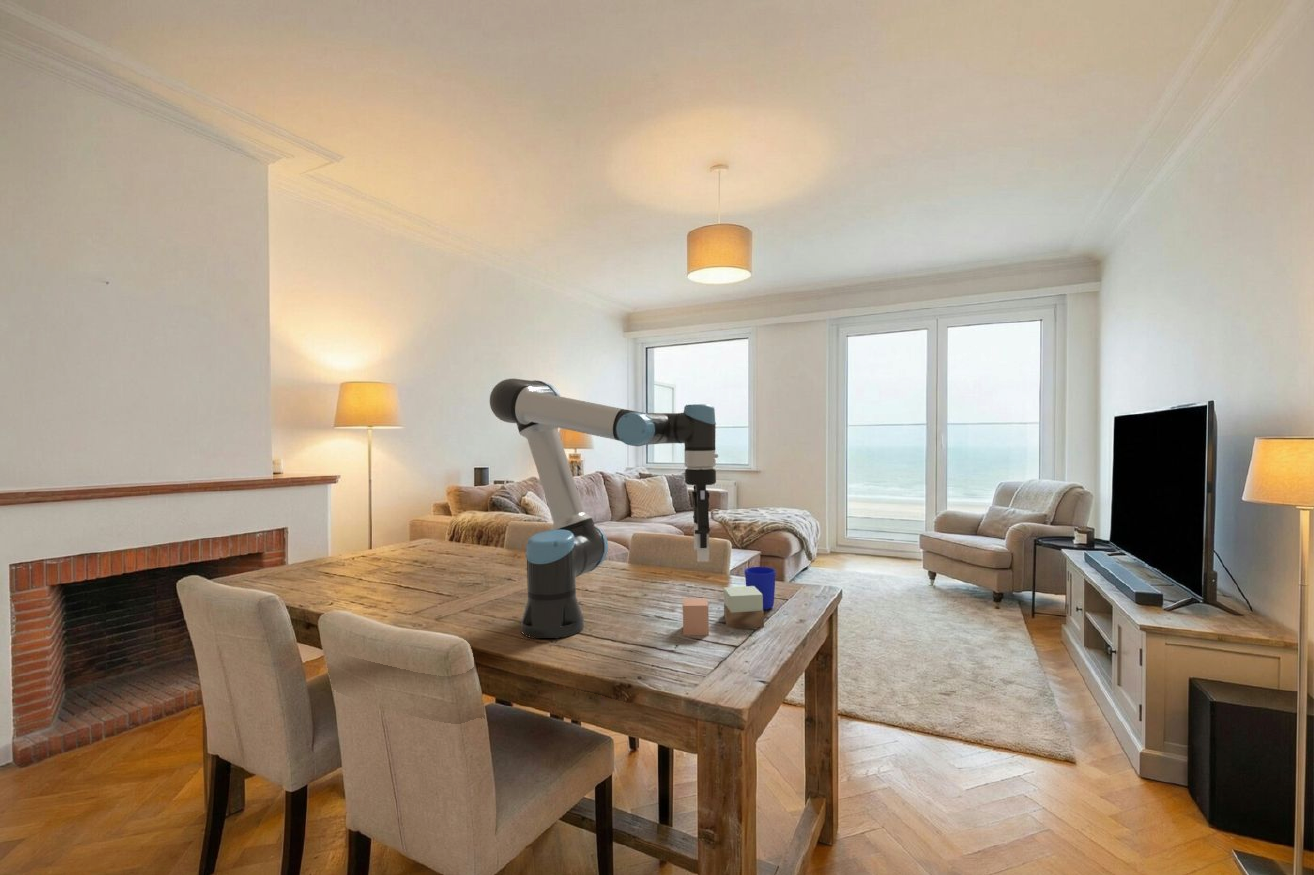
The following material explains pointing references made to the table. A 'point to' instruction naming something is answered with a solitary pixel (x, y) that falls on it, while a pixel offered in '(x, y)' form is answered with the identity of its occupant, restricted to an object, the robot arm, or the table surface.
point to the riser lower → (743, 618)
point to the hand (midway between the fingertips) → (701, 555)
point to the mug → (762, 583)
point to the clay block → (695, 616)
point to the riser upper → (743, 599)
